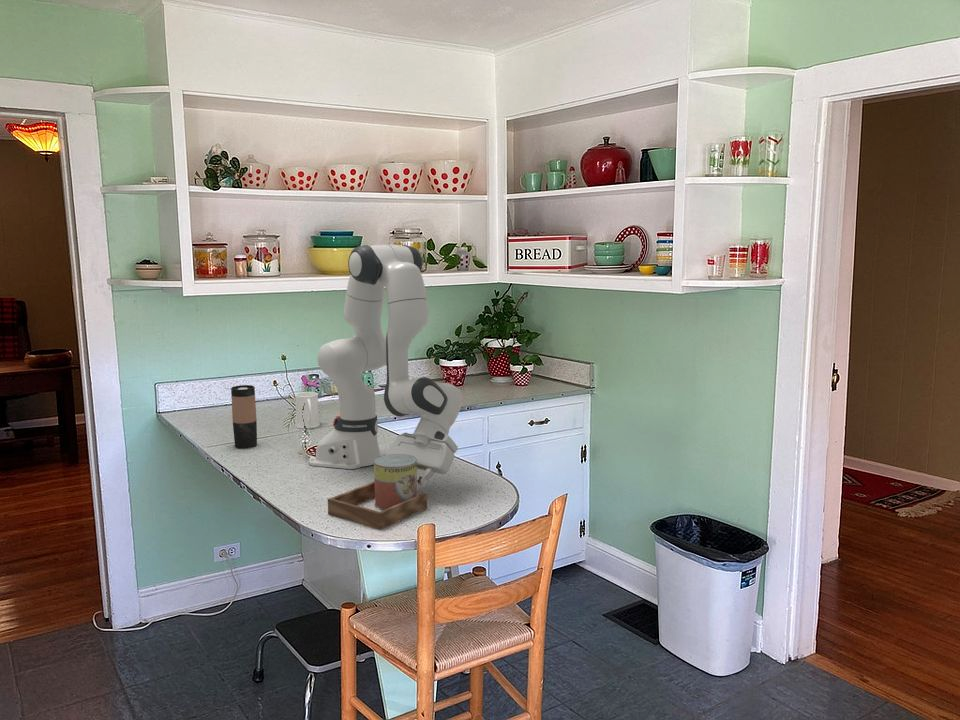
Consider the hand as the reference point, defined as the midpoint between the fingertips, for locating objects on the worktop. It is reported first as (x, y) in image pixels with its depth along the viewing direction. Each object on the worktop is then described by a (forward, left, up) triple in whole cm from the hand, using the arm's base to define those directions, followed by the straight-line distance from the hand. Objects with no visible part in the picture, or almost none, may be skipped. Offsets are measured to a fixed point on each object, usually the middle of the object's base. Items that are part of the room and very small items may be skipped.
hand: (406, 480), depth 216 cm
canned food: (-2, -4, -5) cm, 7 cm away
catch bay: (-6, -10, -5) cm, 12 cm away
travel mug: (-64, +46, -5) cm, 79 cm away
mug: (-51, +72, -5) cm, 89 cm away
